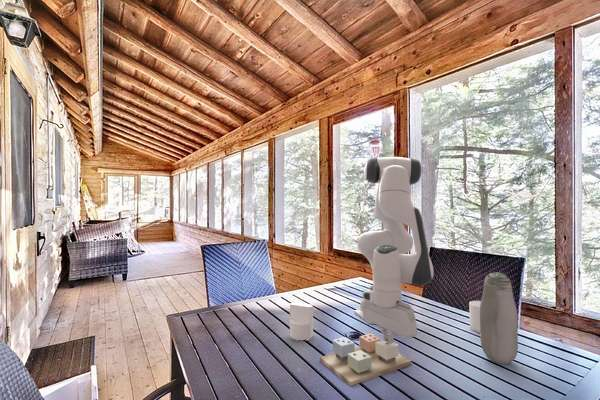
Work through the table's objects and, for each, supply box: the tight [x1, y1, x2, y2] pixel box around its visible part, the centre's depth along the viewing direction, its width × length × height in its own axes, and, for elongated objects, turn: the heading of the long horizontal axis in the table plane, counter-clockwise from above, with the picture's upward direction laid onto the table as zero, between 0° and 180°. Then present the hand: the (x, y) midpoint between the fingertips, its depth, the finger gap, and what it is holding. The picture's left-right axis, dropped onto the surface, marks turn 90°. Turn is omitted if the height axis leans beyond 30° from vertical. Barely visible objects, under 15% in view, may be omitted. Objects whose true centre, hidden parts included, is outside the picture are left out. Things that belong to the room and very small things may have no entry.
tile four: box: [358, 333, 382, 353], centre depth 105 cm, size 5×5×4 cm
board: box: [319, 345, 413, 387], centre depth 99 cm, size 16×24×4 cm, turn 118°
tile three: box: [332, 336, 356, 357], centre depth 100 cm, size 5×5×4 cm
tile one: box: [375, 339, 400, 360], centre depth 98 cm, size 5×5×4 cm
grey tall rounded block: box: [480, 271, 519, 365], centre depth 99 cm, size 10×10×28 cm
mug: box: [468, 300, 481, 334], centre depth 122 cm, size 12×8×10 cm
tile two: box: [348, 350, 372, 373], centre depth 93 cm, size 5×5×4 cm
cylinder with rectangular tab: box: [289, 301, 314, 341], centre depth 120 cm, size 9×9×12 cm
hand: (388, 341), depth 97 cm, fingers closed
